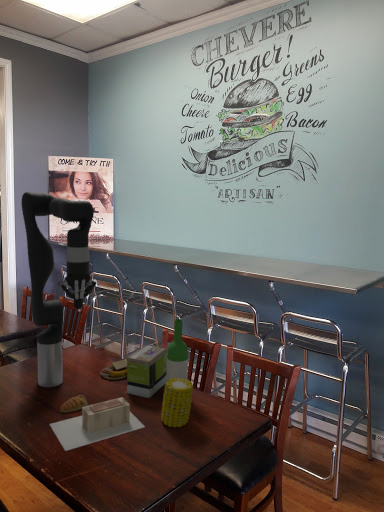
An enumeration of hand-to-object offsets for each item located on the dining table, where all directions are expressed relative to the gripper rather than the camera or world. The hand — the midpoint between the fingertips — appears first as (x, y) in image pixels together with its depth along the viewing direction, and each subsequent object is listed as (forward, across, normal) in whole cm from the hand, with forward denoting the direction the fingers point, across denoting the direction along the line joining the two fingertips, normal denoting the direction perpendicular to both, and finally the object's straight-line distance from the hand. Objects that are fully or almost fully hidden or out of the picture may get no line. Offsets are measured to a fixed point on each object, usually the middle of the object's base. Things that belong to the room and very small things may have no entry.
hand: (78, 308), depth 150 cm
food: (+35, -24, +28) cm, 51 cm away
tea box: (+35, -27, +1) cm, 44 cm away
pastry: (+36, +2, +2) cm, 36 cm away
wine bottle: (+35, -33, +13) cm, 50 cm away
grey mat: (+35, 0, +18) cm, 39 cm away
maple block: (+32, +4, +18) cm, 36 cm away
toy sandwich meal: (+36, -22, -18) cm, 45 cm away
